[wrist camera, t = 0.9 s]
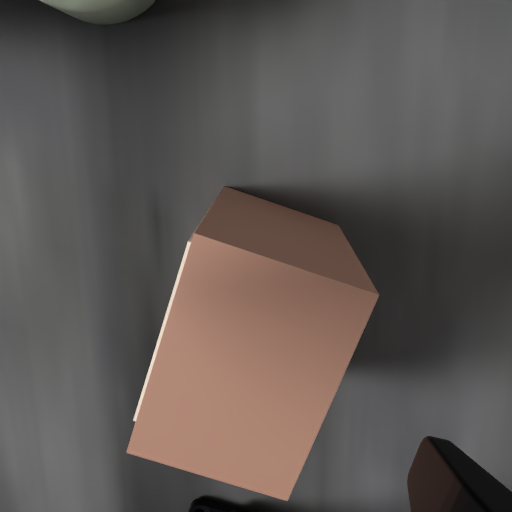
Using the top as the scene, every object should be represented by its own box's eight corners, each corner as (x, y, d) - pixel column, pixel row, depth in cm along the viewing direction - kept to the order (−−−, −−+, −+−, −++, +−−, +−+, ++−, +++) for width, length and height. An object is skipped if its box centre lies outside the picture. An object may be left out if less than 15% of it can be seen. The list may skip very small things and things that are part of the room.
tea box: (338, 224, 20) (379, 295, 12) (282, 365, 22) (287, 500, 14) (221, 184, 20) (188, 231, 12) (175, 331, 22) (121, 451, 14)
